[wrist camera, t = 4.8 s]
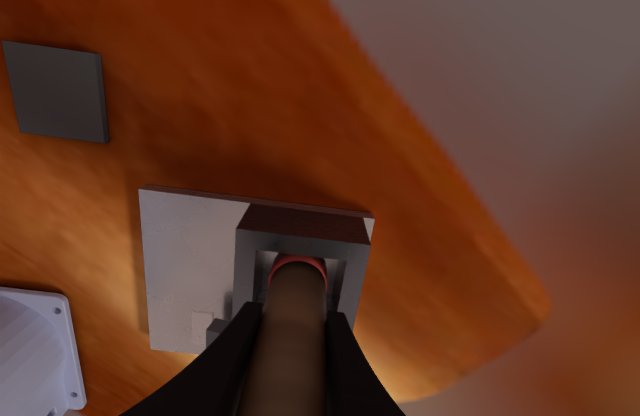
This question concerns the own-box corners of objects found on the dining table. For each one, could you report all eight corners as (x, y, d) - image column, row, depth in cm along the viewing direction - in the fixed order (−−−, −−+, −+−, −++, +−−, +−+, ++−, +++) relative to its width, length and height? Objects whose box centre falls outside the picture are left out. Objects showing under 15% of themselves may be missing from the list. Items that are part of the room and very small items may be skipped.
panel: (342, 359, 22) (345, 415, 18) (156, 339, 21) (123, 392, 18) (372, 213, 18) (384, 247, 14) (146, 184, 17) (100, 211, 14)
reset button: (322, 295, 18) (322, 313, 16) (270, 288, 17) (265, 307, 16) (330, 248, 16) (330, 264, 15) (274, 242, 16) (270, 257, 15)
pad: (109, 141, 16) (104, 143, 16) (26, 130, 16) (20, 132, 16) (100, 54, 15) (94, 53, 15) (9, 41, 15) (1, 40, 14)
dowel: (322, 309, 16) (321, 511, 9) (269, 304, 16) (221, 504, 9) (328, 263, 15) (332, 445, 8) (271, 258, 15) (220, 437, 8)
